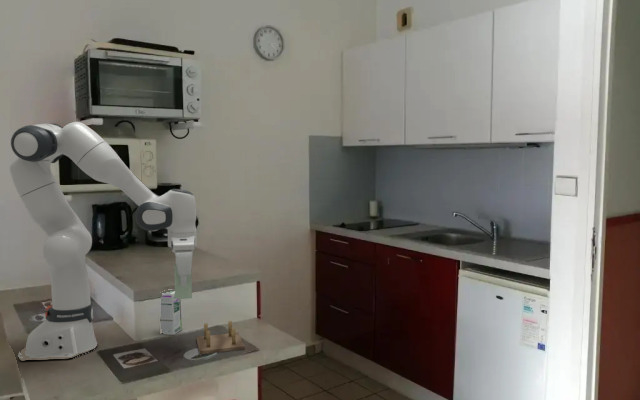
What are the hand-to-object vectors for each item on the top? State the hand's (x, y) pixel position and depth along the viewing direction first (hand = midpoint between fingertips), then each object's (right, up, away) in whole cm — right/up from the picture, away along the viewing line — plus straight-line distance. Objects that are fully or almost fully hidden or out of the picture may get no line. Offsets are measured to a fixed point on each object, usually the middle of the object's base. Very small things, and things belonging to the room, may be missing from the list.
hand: (182, 283), depth 169 cm
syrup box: (-9, -20, +18) cm, 28 cm away
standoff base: (+11, -21, +5) cm, 24 cm away
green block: (0, -4, 0) cm, 4 cm away
